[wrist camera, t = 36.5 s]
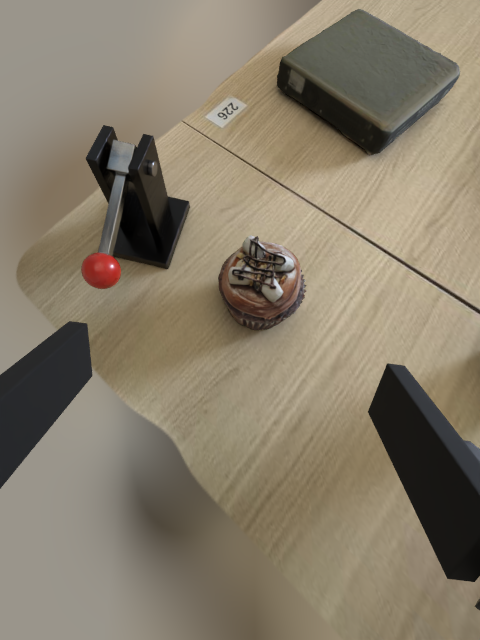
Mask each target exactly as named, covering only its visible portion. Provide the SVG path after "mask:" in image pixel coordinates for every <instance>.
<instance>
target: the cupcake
mask: <svg viewBox="0 0 480 640" xmlns="http://www.w3.org/2000/svg"><path fill="white" fill-rule="evenodd" d="M258 239H259V238H258V236H257V237H253V236H249V237H247V238H246V239H245V240H244V243H243V245H242V247H241V248H240V249H238V250H237V251H236V252H235V253H233V254H232V255H231V256H230V257H229V258H228V259H227V260H226V261H225V262H224V264H223V266H222V268H221V271H220V274H219V277H218V280H219V290H220V293H221V295H222V298H223V300H224V302H225V304H226V305H227V307H228V309H229V311H230V313H231V315H232V316H233V317H234V318H235V320H236V321H237V322H238V323H239V324H241V325H244V326H247V327H248V328H250V329H253V330H262V329H269V328H271V327H273V326H275V325H277V324H279V323H280V322H281V321H283V320H285V319H286V318H288V317H290V316H291V315H292V314H294V313H295V312H296V309H298V308H299V306H300V304H301V303H302V300H303V299H304V298H305V297H304V296H305V295H304V293H305V292H306V290H305V289H303V288H305V287H306V285H305V284H304V282H305V279H303V275H301V272H302V270H301V268H300V264H299V262H298V259H297V258H296V257H295V255H294V254H293V253H292V252H290V251H289V250H288V249H286V248H285V247H283V246H281V245H278V244H274V243H269V242H262V241H258Z"/></svg>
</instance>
